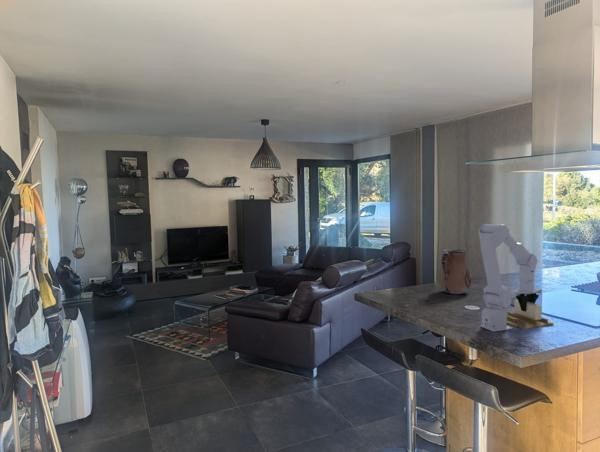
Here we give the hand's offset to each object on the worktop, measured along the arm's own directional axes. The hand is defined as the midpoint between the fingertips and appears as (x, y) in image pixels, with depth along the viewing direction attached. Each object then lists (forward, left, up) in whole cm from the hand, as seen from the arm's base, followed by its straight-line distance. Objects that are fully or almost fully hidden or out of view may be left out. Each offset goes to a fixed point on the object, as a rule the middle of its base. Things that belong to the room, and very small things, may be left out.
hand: (526, 310), depth 186 cm
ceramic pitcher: (+4, +59, -5) cm, 59 cm away
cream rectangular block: (0, 0, -2) cm, 2 cm away
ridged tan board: (-3, 0, -5) cm, 5 cm away
